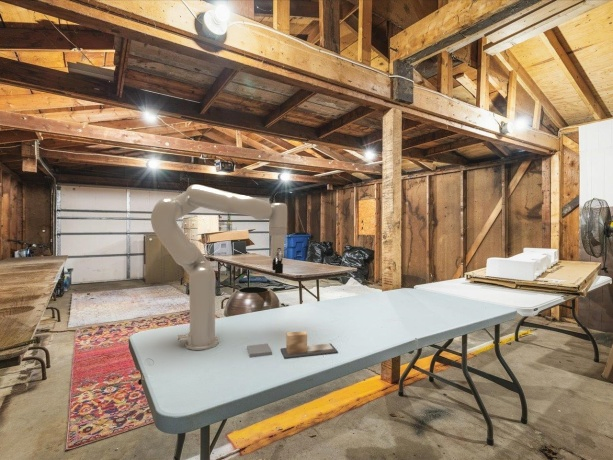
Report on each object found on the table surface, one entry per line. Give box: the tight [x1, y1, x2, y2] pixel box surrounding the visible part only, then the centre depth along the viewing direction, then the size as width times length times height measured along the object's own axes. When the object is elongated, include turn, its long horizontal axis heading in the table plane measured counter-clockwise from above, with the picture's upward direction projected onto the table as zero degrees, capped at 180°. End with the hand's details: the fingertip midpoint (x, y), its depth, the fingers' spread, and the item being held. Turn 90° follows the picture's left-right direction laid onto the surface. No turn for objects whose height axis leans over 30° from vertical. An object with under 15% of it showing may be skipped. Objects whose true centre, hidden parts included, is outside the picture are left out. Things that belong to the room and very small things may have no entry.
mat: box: [280, 343, 339, 360], centre depth 113 cm, size 20×8×1 cm, turn 105°
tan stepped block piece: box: [285, 330, 333, 354], centre depth 113 cm, size 17×5×6 cm, turn 105°
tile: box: [246, 343, 273, 358], centre depth 112 cm, size 8×2×8 cm
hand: (277, 271), depth 130 cm, fingers open, 9 cm apart
